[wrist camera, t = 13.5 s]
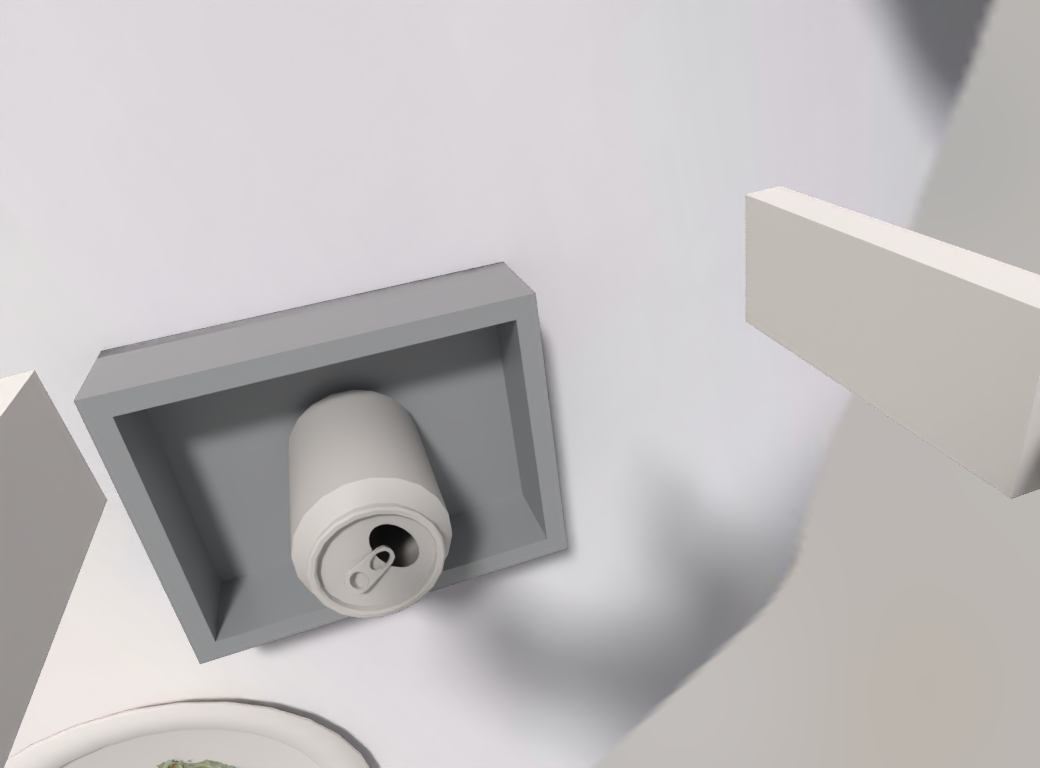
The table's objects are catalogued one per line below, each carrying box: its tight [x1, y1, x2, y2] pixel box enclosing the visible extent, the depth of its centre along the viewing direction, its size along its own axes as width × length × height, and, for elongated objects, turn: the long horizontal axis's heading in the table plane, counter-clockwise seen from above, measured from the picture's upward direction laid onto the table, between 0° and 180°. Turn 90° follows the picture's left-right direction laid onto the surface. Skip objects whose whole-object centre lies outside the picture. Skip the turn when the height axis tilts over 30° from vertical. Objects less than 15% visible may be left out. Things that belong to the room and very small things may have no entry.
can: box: [288, 390, 452, 618], centre depth 38 cm, size 8×8×12 cm
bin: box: [74, 262, 567, 664], centre depth 41 cm, size 22×17×6 cm
